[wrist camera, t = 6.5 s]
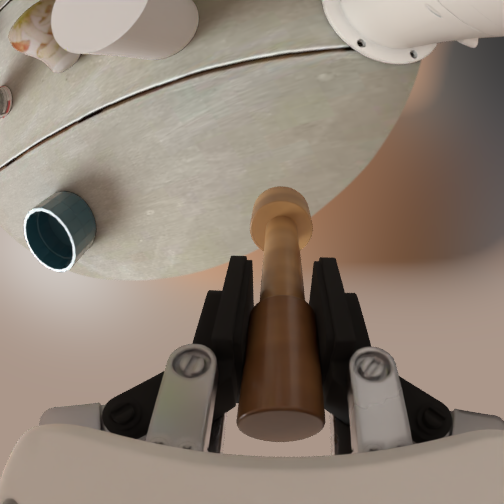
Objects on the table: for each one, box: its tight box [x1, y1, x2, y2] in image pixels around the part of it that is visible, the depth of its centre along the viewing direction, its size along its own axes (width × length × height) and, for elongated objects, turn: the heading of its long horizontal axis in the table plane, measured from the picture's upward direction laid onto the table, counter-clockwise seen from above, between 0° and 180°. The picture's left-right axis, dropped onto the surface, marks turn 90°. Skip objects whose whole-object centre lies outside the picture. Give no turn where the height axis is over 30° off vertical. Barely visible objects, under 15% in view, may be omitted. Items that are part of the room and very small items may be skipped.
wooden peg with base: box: [237, 187, 325, 442], centre depth 12 cm, size 3×3×12 cm
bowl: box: [23, 191, 96, 272], centre depth 32 cm, size 9×9×6 cm
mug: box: [8, 0, 80, 73], centre depth 19 cm, size 8×10×10 cm
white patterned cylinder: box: [51, 0, 199, 60], centre depth 16 cm, size 8×8×12 cm
